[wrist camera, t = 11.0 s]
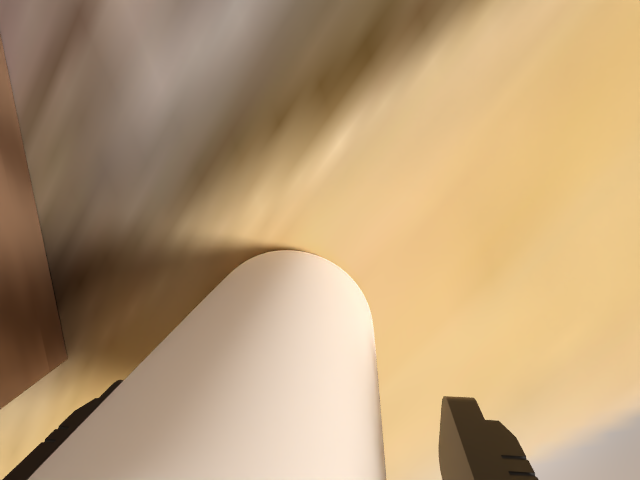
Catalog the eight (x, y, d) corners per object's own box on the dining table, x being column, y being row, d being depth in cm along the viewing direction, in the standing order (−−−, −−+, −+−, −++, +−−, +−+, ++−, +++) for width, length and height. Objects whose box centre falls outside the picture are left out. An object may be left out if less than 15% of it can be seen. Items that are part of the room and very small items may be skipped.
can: (238, 400, 17) (-42, 1003, 5) (196, 261, 15) (-339, 657, 4) (386, 382, 16) (465, 1073, 4) (356, 231, 14) (346, 640, 3)
